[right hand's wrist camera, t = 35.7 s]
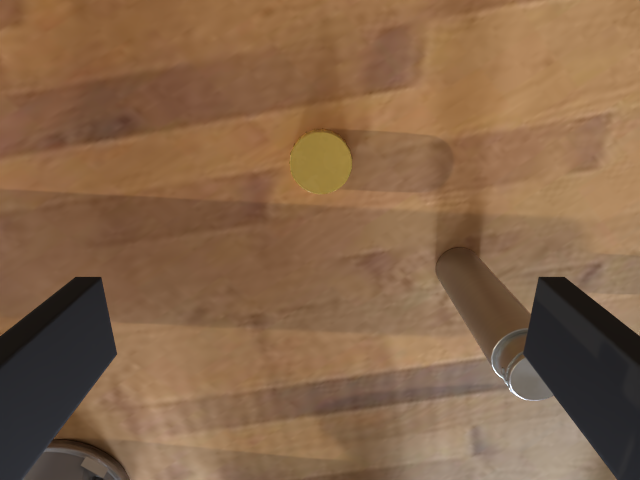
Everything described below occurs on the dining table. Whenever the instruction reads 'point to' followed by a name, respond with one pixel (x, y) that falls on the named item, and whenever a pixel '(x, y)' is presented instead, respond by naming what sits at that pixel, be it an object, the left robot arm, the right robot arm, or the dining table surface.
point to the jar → (492, 319)
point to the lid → (320, 161)
